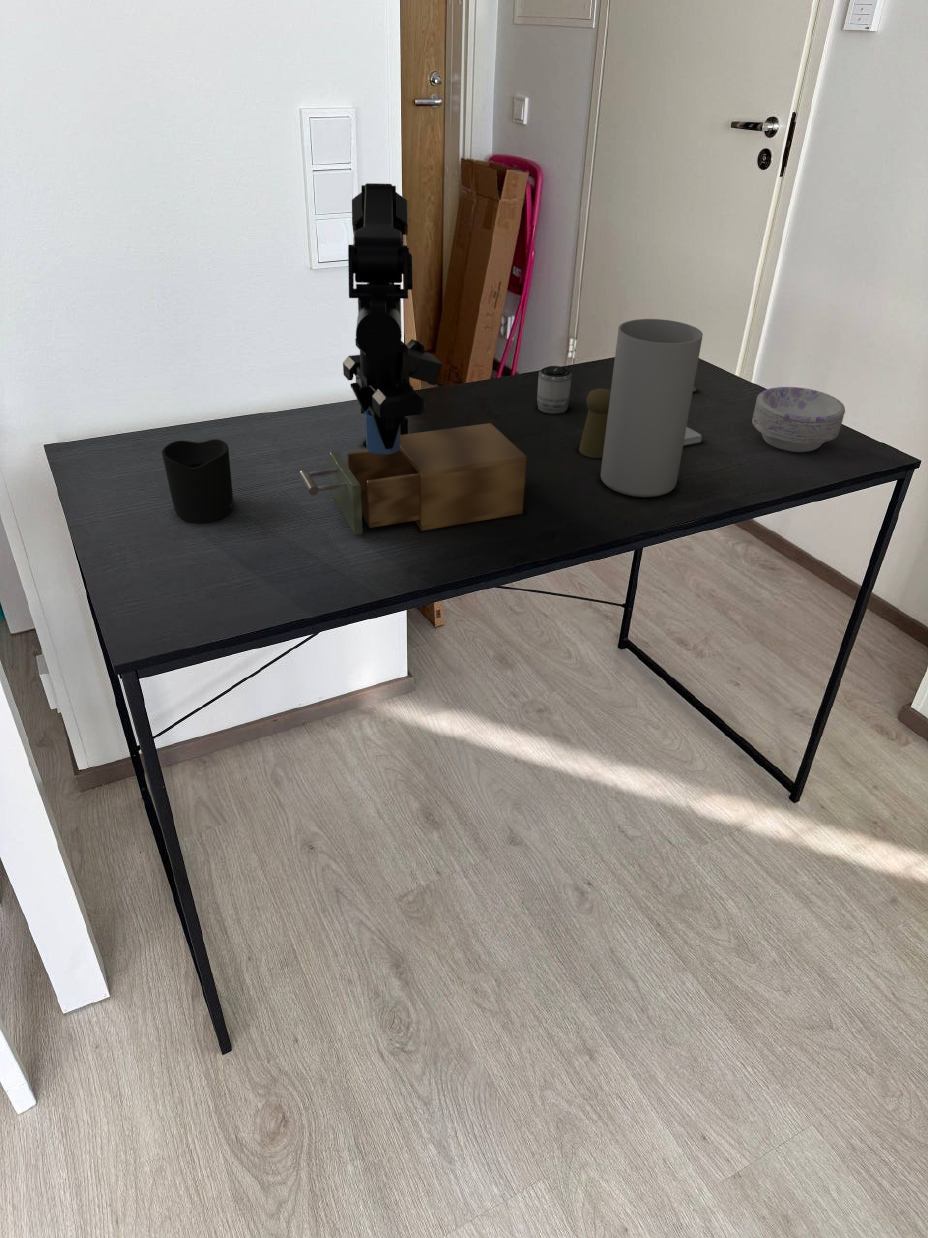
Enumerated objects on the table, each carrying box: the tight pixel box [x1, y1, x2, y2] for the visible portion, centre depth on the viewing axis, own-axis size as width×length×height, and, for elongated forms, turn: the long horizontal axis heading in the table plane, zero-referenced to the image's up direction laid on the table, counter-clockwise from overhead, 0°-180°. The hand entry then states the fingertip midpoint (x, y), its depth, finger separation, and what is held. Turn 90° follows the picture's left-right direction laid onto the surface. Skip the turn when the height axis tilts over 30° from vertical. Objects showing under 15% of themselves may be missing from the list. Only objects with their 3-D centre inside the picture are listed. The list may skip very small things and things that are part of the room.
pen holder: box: [161, 438, 234, 524], centre depth 134 cm, size 9×9×10 cm
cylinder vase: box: [600, 318, 704, 498], centre depth 142 cm, size 12×12×25 cm
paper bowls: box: [751, 386, 846, 453], centre depth 162 cm, size 15×15×8 cm
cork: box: [578, 388, 611, 459], centre depth 156 cm, size 6×6×11 cm
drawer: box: [298, 449, 420, 536], centre depth 134 cm, size 21×12×8 cm, turn 112°
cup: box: [364, 408, 401, 455], centre depth 130 cm, size 5×5×6 cm
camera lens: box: [536, 365, 572, 415], centre depth 173 cm, size 6×6×8 cm
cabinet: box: [400, 422, 527, 532], centre depth 139 cm, size 17×14×10 cm
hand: (383, 441), depth 131 cm, fingers closed on cup, 5 cm apart
